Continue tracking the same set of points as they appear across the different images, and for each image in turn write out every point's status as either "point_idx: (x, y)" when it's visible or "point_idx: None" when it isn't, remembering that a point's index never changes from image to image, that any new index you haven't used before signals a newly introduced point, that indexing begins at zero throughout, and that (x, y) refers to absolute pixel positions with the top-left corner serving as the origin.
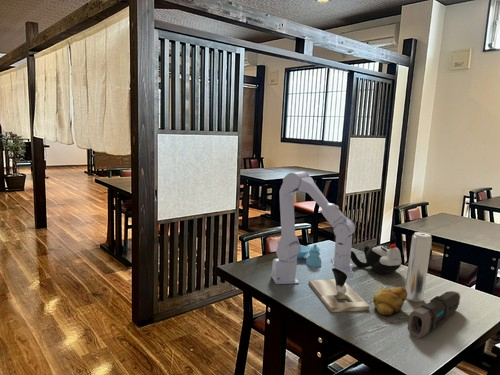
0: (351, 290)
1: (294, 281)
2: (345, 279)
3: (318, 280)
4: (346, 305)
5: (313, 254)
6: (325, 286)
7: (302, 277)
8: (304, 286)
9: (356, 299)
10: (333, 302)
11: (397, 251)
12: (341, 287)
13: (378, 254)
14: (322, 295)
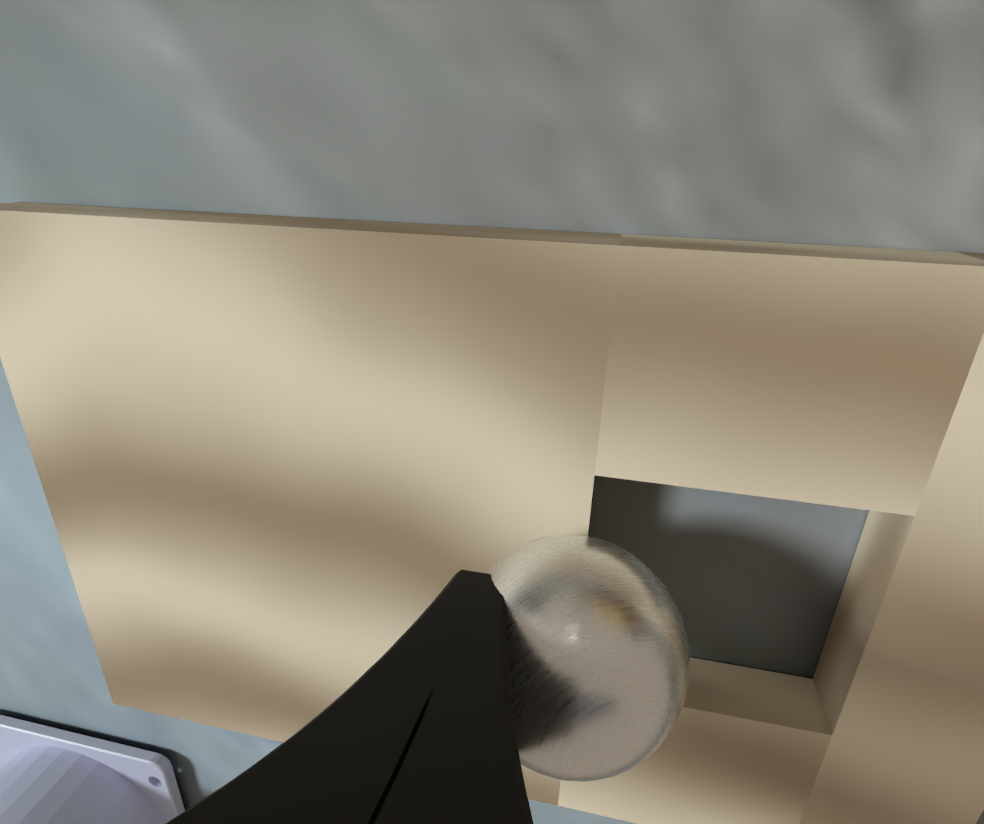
0: (434, 283)
1: (147, 791)
2: (525, 802)
3: (104, 611)
4: (973, 692)
5: None
6: (284, 625)
7: (5, 644)
8: (229, 733)
9: (839, 403)
10: (795, 791)
11: None
12: (637, 759)
13: None
14: (553, 793)
